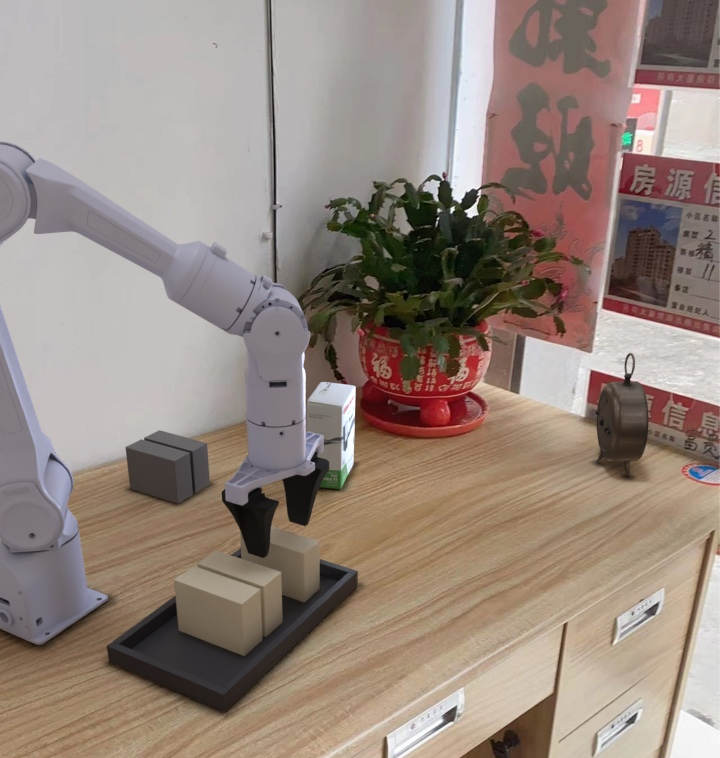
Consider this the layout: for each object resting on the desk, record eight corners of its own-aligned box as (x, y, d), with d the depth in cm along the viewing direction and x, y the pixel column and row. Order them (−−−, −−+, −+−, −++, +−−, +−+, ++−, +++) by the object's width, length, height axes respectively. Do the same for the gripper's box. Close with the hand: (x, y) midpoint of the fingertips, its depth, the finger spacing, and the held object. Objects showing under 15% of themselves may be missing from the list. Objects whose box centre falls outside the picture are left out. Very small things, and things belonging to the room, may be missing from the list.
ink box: (341, 490, 116) (342, 405, 110) (305, 486, 116) (304, 402, 111) (355, 463, 123) (356, 382, 118) (320, 459, 124) (320, 379, 118)
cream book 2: (265, 637, 86) (263, 586, 83) (200, 613, 90) (196, 563, 87) (282, 622, 89) (281, 571, 86) (219, 599, 92) (215, 549, 89)
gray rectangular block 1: (178, 504, 111) (174, 461, 109) (129, 489, 115) (125, 446, 112) (193, 494, 114) (189, 452, 111) (145, 480, 117) (141, 438, 114)
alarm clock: (641, 481, 120) (663, 367, 112) (601, 480, 120) (621, 366, 112) (621, 448, 130) (640, 341, 122) (585, 447, 130) (601, 340, 122)
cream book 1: (244, 656, 84) (241, 604, 81) (178, 630, 87) (173, 579, 84) (262, 640, 86) (260, 588, 83) (197, 615, 89) (193, 565, 86)
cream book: (304, 603, 92) (304, 553, 89) (242, 581, 95) (239, 533, 92) (319, 589, 94) (319, 540, 91) (258, 568, 97) (256, 521, 95)
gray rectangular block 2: (195, 493, 114) (192, 451, 111) (148, 479, 117) (143, 437, 115) (210, 484, 116) (207, 443, 114) (163, 470, 120) (159, 430, 117)
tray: (224, 712, 77) (223, 694, 76) (108, 662, 83) (106, 645, 82) (357, 586, 96) (358, 570, 95) (254, 552, 101) (254, 537, 100)
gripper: (267, 451, 78) (271, 581, 84) (349, 401, 89) (347, 519, 96) (203, 434, 81) (212, 560, 87) (291, 388, 92) (292, 503, 99)
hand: (278, 538), depth 92 cm, fingers open, 7 cm apart
